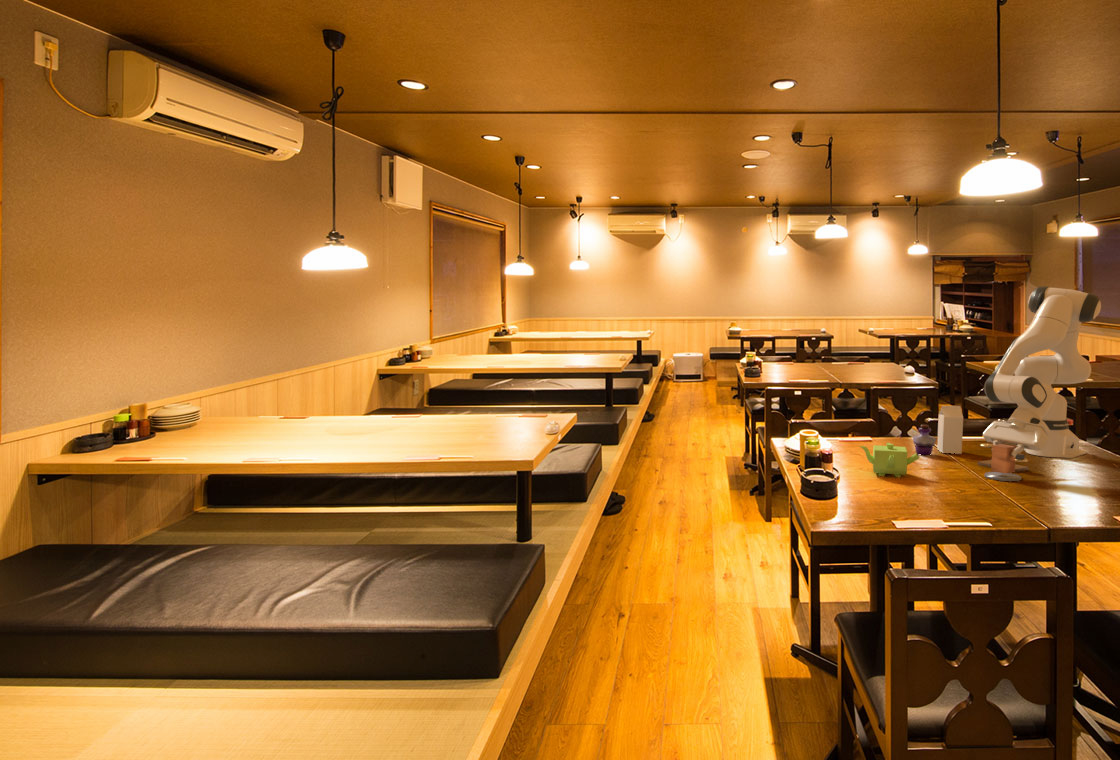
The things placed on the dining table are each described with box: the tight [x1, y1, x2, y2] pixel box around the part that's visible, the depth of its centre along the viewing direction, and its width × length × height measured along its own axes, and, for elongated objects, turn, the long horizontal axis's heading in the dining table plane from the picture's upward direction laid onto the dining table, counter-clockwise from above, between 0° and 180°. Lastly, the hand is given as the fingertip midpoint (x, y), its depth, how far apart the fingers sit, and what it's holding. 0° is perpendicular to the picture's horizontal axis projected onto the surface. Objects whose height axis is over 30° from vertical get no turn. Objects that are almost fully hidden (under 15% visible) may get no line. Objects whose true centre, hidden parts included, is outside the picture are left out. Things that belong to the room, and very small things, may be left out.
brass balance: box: [977, 441, 1029, 473], centre depth 268 cm, size 8×18×11 cm, turn 23°
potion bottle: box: [912, 424, 937, 456], centre depth 292 cm, size 9×9×12 cm
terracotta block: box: [990, 444, 1016, 473], centre depth 253 cm, size 5×5×9 cm
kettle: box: [858, 442, 920, 478], centre depth 261 cm, size 15×14×11 cm
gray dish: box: [984, 471, 1022, 483], centre depth 254 cm, size 11×11×1 cm
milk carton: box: [936, 405, 964, 455], centre depth 295 cm, size 7×7×19 cm
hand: (1002, 453), depth 253 cm, fingers closed on terracotta block, 5 cm apart
